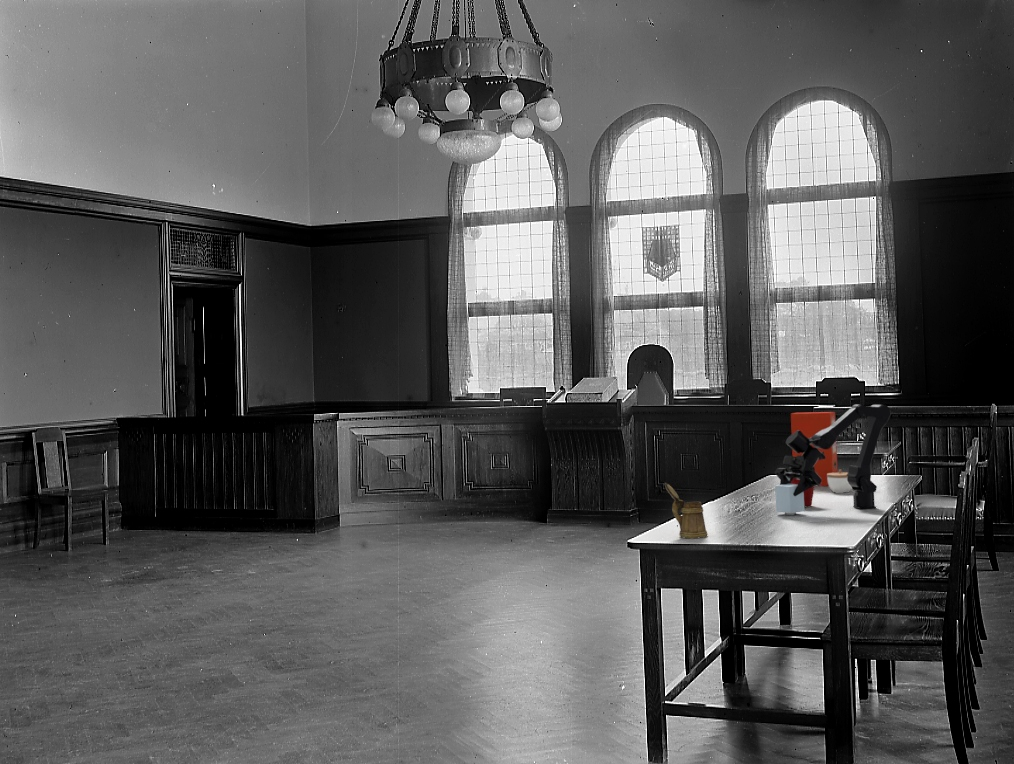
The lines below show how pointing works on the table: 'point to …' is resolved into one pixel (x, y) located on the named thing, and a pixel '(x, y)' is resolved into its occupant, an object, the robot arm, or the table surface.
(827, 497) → the table surface
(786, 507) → the light blue block
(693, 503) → the wooden mug
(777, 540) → the table surface
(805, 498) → the plastic cup
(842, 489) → the lidded jar
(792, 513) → the white domed knob
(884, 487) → the table surface
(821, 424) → the file binder
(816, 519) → the mat
